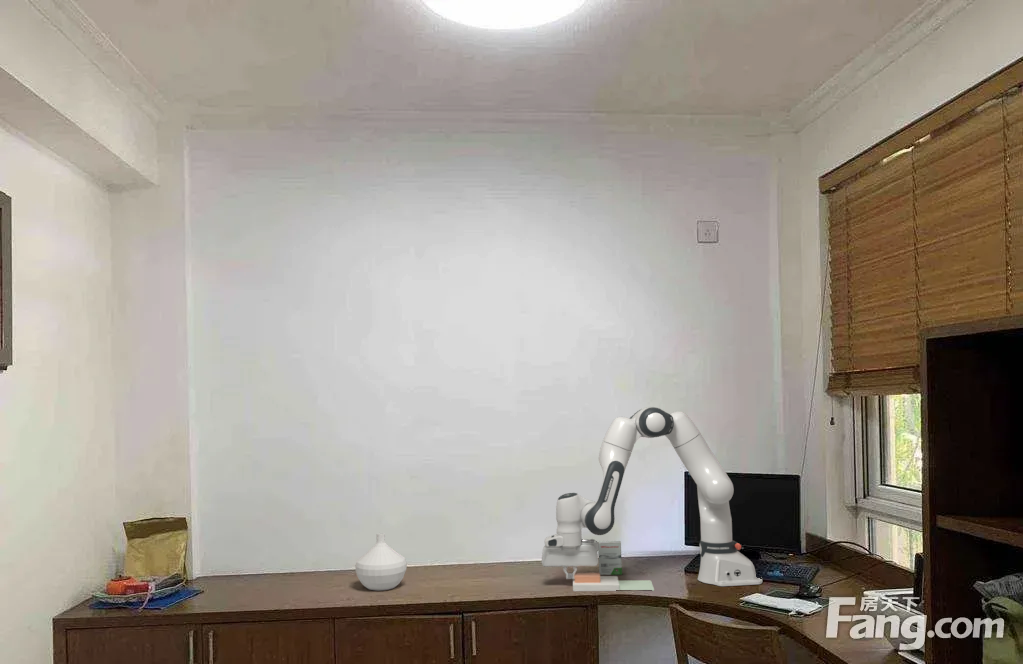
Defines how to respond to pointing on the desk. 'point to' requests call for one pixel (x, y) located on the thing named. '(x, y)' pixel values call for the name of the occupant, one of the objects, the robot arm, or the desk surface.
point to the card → (587, 577)
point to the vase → (381, 566)
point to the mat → (636, 585)
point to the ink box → (610, 558)
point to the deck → (598, 584)
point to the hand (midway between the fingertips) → (570, 578)
